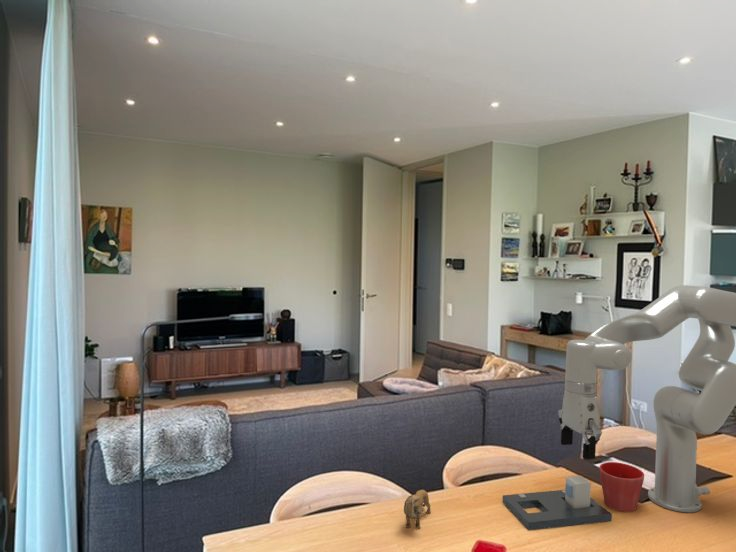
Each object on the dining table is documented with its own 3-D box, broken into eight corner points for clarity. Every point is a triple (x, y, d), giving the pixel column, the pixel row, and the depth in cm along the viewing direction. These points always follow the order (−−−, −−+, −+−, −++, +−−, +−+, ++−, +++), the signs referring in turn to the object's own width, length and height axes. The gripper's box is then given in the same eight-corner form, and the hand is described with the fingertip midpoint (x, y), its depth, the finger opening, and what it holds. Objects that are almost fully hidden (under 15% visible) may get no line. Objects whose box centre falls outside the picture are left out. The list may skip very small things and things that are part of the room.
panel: (578, 495, 142) (578, 487, 142) (611, 521, 128) (611, 512, 128) (502, 502, 137) (502, 494, 137) (528, 530, 124) (528, 521, 124)
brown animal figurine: (422, 538, 120) (423, 501, 119) (400, 535, 121) (401, 498, 121) (432, 508, 134) (433, 475, 133) (412, 505, 135) (413, 473, 135)
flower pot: (649, 517, 130) (650, 480, 130) (603, 512, 133) (604, 476, 132) (636, 498, 141) (637, 463, 140) (594, 493, 143) (595, 460, 143)
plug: (579, 504, 137) (580, 475, 136) (589, 512, 132) (590, 483, 132) (562, 506, 136) (563, 477, 135) (572, 514, 131) (572, 484, 131)
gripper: (615, 396, 125) (611, 464, 126) (573, 378, 142) (570, 438, 143) (587, 397, 123) (584, 465, 124) (549, 379, 140) (546, 440, 141)
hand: (577, 451), depth 133 cm, fingers open, 9 cm apart
